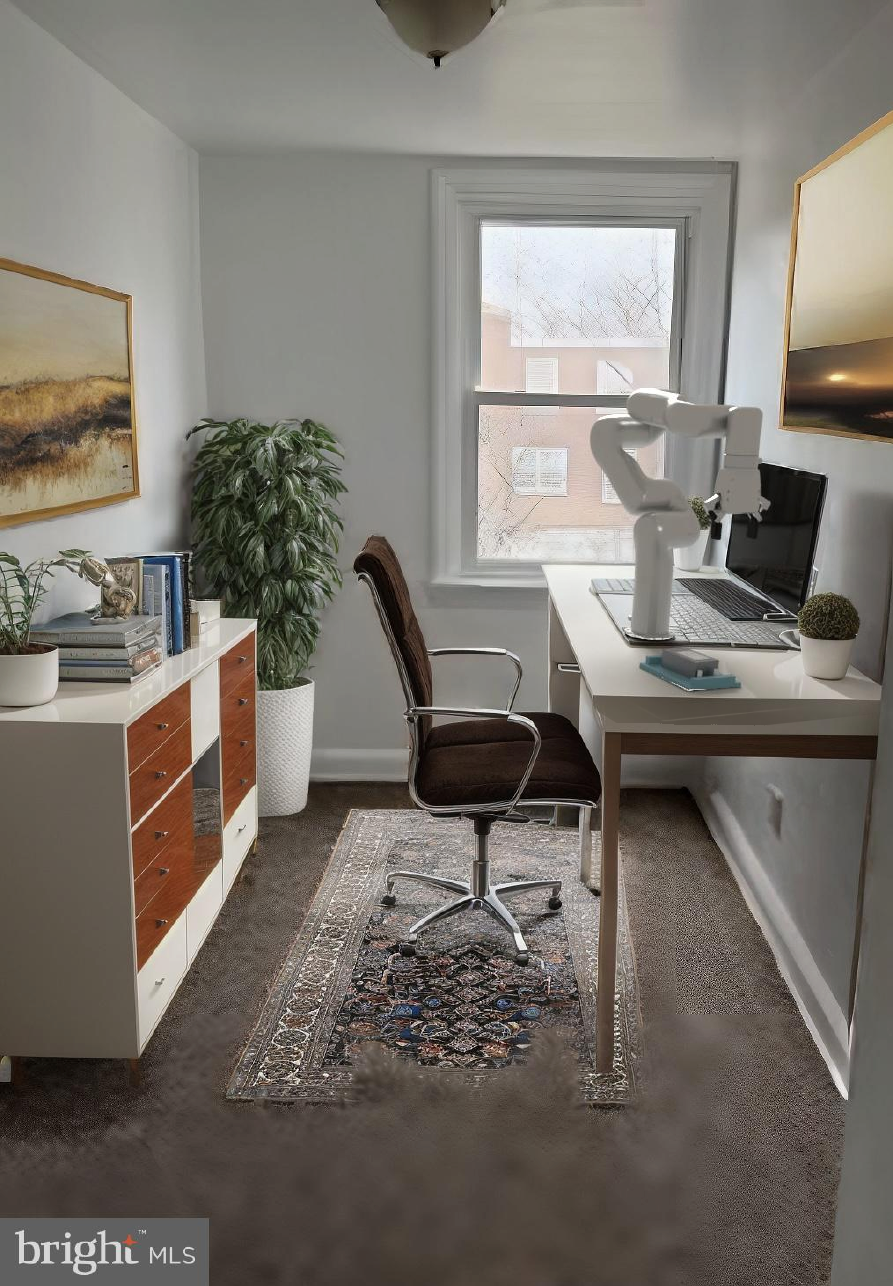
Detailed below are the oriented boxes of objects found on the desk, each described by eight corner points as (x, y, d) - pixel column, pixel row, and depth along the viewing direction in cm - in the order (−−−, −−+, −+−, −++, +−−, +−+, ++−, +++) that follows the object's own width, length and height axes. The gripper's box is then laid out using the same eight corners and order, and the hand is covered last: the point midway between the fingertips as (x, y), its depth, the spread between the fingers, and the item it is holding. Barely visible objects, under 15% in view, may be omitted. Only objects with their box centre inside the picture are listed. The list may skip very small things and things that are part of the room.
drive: (661, 666, 232) (662, 648, 231) (683, 664, 234) (684, 646, 233) (694, 680, 221) (696, 662, 220) (717, 678, 224) (718, 659, 223)
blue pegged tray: (639, 667, 235) (640, 652, 234) (689, 663, 239) (690, 648, 238) (688, 691, 217) (689, 675, 216) (740, 687, 221) (742, 671, 220)
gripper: (762, 461, 240) (755, 535, 244) (698, 461, 234) (692, 537, 238) (783, 464, 233) (775, 540, 237) (717, 464, 227) (710, 542, 231)
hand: (733, 538), depth 238 cm, fingers open, 9 cm apart
